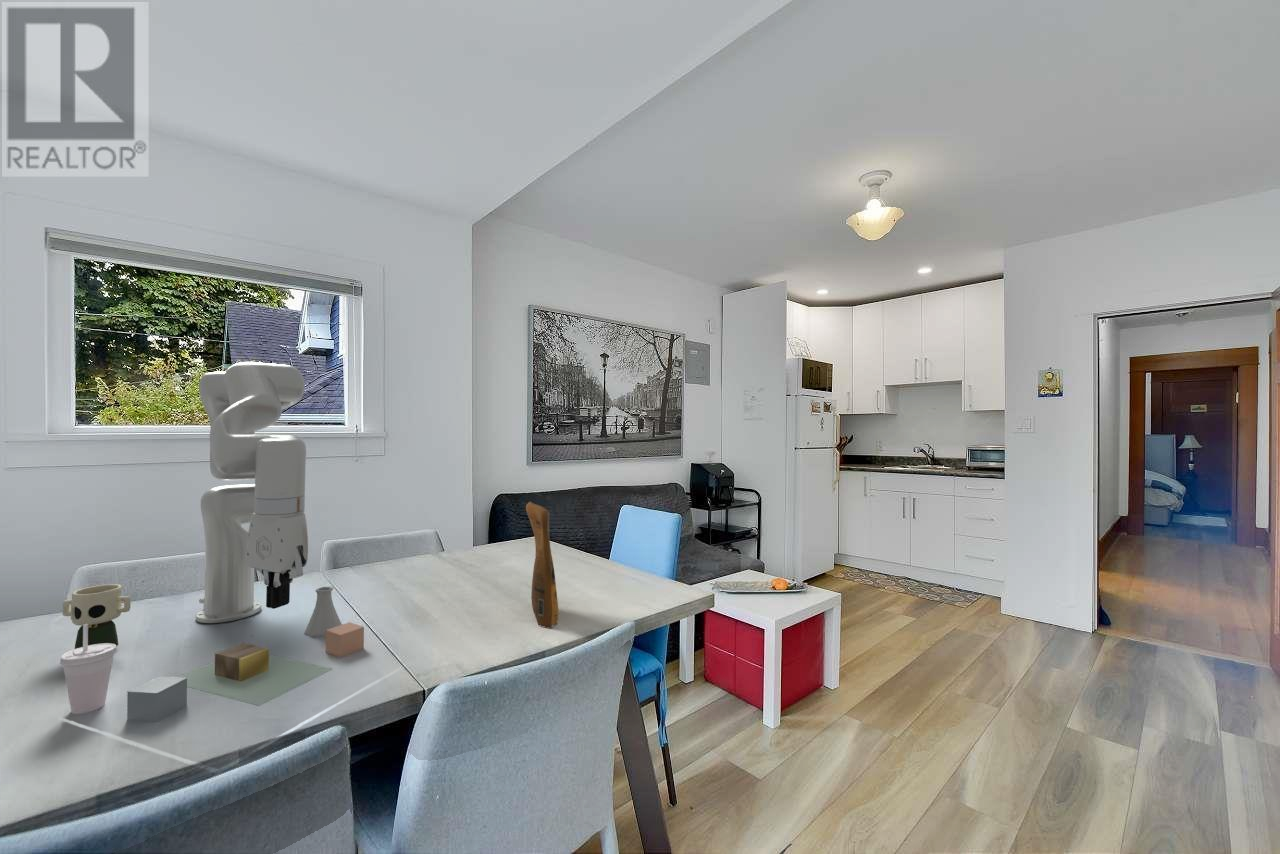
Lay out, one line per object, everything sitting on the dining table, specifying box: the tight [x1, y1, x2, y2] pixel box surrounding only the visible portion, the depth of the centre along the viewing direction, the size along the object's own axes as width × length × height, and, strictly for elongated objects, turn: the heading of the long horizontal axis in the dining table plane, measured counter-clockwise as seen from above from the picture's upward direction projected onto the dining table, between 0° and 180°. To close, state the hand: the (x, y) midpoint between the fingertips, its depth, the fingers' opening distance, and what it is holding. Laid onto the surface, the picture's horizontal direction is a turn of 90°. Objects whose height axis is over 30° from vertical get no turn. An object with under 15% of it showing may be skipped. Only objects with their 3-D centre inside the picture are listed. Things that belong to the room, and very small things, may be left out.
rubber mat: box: [175, 654, 333, 707], centre depth 97 cm, size 24×14×1 cm, turn 71°
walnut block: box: [214, 642, 270, 681], centre depth 98 cm, size 4×5×7 cm
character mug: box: [62, 583, 132, 649], centre depth 106 cm, size 11×7×13 cm, turn 106°
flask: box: [303, 586, 343, 638], centre depth 118 cm, size 7×7×10 cm
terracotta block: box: [325, 621, 365, 658], centre depth 108 cm, size 5×5×5 cm
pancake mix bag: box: [525, 501, 559, 629], centre depth 129 cm, size 7×19×28 cm, turn 19°
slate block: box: [126, 675, 188, 723], centre depth 84 cm, size 5×5×5 cm
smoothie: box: [59, 624, 117, 715], centre depth 86 cm, size 6×6×14 cm
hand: (277, 605), depth 96 cm, fingers closed
